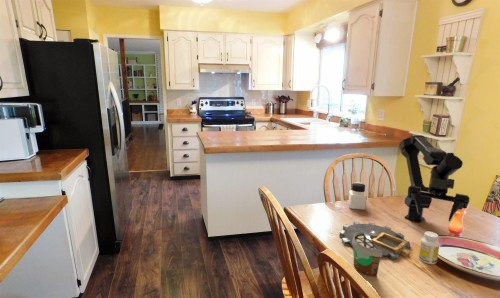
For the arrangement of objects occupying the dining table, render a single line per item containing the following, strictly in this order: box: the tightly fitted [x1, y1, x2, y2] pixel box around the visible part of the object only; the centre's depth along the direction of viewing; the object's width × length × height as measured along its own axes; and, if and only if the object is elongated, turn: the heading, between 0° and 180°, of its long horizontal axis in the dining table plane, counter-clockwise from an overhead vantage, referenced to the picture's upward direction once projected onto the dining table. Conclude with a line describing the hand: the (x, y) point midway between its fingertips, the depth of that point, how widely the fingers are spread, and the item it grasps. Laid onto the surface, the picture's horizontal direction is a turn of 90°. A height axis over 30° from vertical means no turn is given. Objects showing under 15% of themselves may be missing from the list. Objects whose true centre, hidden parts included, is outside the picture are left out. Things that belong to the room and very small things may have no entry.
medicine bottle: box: [348, 182, 368, 211], centre depth 141 cm, size 7×7×12 cm
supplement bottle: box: [418, 231, 441, 265], centre depth 98 cm, size 5×5×10 cm
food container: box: [352, 232, 383, 278], centre depth 93 cm, size 12×6×10 cm, turn 5°
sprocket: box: [339, 221, 411, 261], centre depth 110 cm, size 25×25×4 cm
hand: (433, 217), depth 102 cm, fingers open, 9 cm apart
